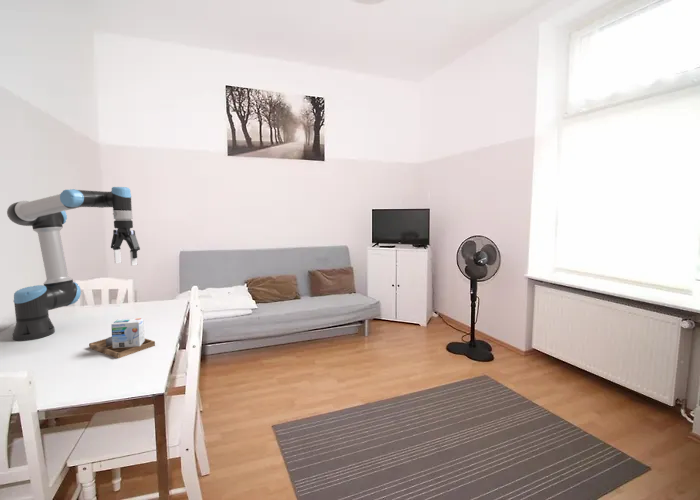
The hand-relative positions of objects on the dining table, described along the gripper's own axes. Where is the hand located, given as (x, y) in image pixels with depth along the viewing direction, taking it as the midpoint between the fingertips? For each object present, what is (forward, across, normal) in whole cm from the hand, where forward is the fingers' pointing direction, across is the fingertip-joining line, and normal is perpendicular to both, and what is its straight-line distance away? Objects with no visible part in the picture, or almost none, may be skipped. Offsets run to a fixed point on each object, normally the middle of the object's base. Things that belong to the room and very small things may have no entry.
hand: (126, 264), depth 167 cm
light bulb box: (+33, +20, -12) cm, 40 cm away
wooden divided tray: (+35, +15, -12) cm, 40 cm away
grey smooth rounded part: (+34, +10, -12) cm, 38 cm away
